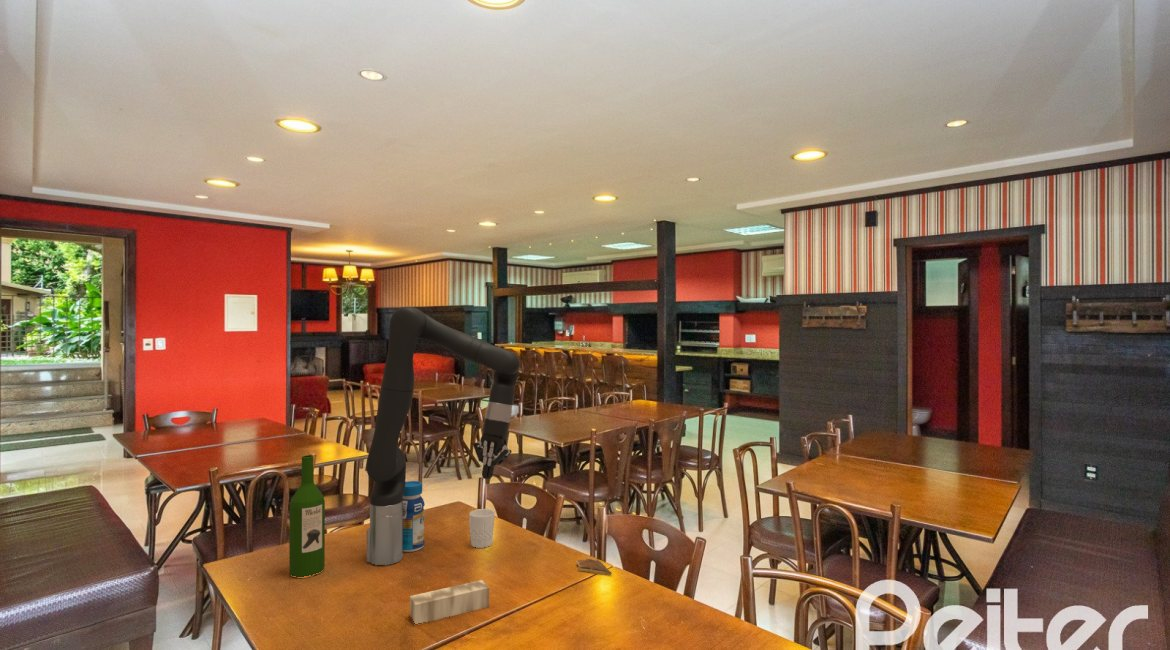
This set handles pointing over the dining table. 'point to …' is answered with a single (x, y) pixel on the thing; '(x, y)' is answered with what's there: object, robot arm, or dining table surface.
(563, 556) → the dining table surface
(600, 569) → the shard
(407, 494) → the beverage bottle
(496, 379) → the robot arm
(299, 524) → the wine bottle
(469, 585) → the birch block
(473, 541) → the white cup
